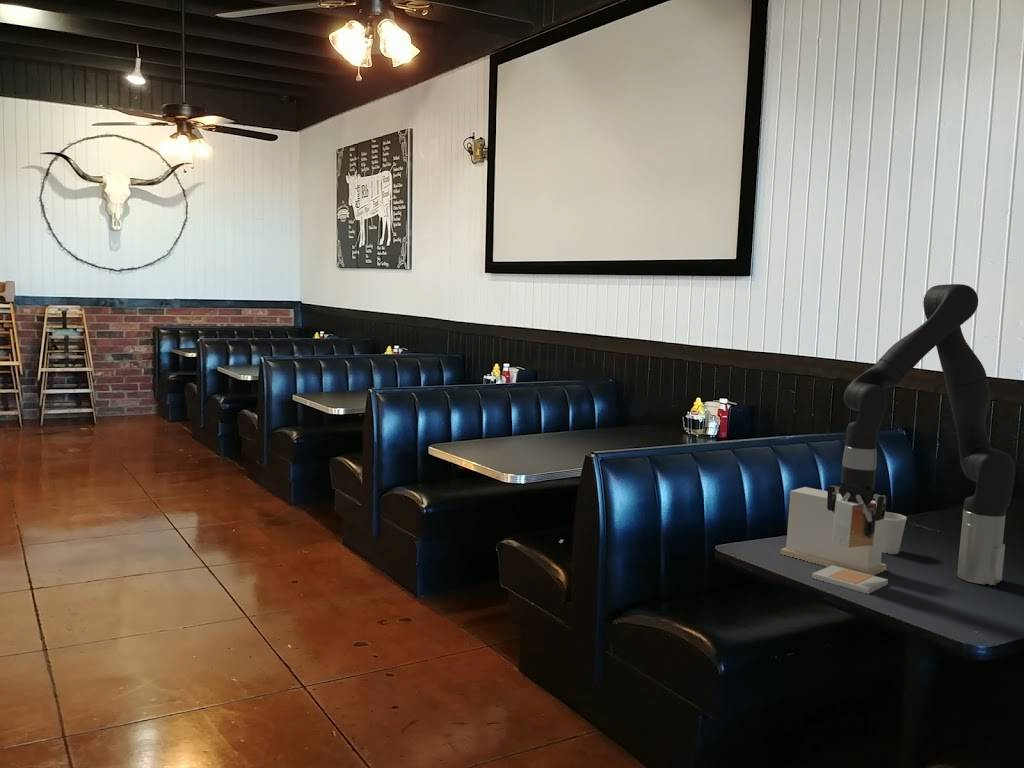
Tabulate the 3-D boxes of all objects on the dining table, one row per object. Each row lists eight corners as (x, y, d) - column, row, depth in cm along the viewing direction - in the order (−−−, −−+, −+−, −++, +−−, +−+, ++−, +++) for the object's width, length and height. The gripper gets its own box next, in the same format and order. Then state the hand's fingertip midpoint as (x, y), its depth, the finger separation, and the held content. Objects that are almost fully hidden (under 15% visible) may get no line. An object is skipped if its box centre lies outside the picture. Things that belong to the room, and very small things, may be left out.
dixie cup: (897, 547, 241) (901, 512, 240) (908, 556, 233) (911, 520, 232) (867, 545, 242) (870, 511, 241) (876, 554, 234) (879, 518, 233)
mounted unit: (885, 570, 220) (891, 503, 218) (868, 578, 213) (874, 509, 211) (798, 547, 237) (803, 485, 235) (780, 554, 230) (785, 490, 228)
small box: (848, 548, 205) (852, 505, 204) (831, 542, 210) (834, 499, 209) (873, 545, 208) (877, 503, 207) (856, 539, 213) (859, 497, 212)
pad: (887, 584, 209) (888, 579, 209) (868, 593, 201) (868, 588, 201) (832, 569, 219) (832, 564, 219) (811, 578, 211) (812, 573, 211)
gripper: (895, 469, 205) (889, 536, 206) (837, 458, 215) (832, 523, 216) (882, 472, 199) (876, 542, 201) (823, 462, 210) (818, 528, 211)
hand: (853, 532), depth 209 cm, fingers closed on small box, 6 cm apart
